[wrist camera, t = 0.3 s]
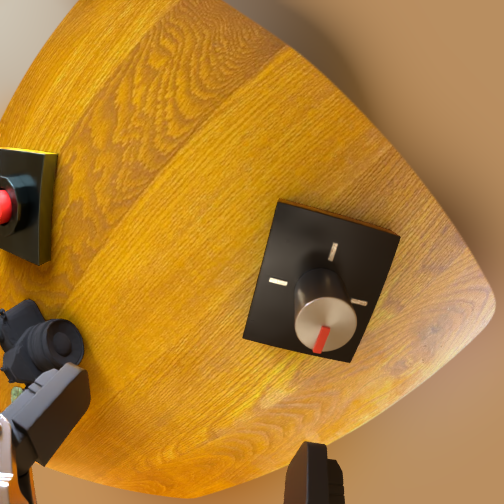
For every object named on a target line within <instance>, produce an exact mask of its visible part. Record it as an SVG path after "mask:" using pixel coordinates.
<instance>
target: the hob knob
mask: <svg viewBox="0 0 504 504" xmlns="http://www.w3.org/2000/svg"><path fill="white" fill-rule="evenodd" d="M356 326H357V317H356V314H355V311H354V308H353V306H352V303H351V301H350V298H349V296H348V293H347V291H346V288H345V286H344V283H343V281H342V279H341V278H340V277H339V275H337V274H336V273H335V272H333V271H331V270H328V269H323V268H319V269H313V270H311V271H308V272H307V273H305V274H304V275H303V276H302V277H301V278H300V279H299V280H298V282H297V284H296V287H295V332H296V335H297V337H298V339H299V340H300V342H301V343H302V344H304V345H305V346H306V347H308V348H310V349H312V350H313V352H314V353H318V354H321V352H322V351H323V352H324V351H332V350H335V349H338V348H340V347H342V346H343V345H345V344H346V343H347V342H348V341H349V340H350V339H351V338H352V336H353V334H354V332H355V330H356Z"/></svg>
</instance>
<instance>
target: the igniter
mask: <svg viewBox="0 0 504 504" xmlns="http://www.w3.org/2000/svg"><path fill="white" fill-rule="evenodd" d="M57 157H58V154H57V153H51V152H43V151H36V150H28V149H19V148H10V147H1V148H0V190H5V191H7V193H8V194H9V196H10V200H11V204H12V216H11V218H10V220H9V221H8V222H6V223H3V224H0V248H1V249H3V250H5V251H7V252H9V253H12V254H14V255H16V256H18V257H20V258H22V259H25V260H27V261H29V262H31V263H34V264H36V265H38V266H40V265H42V264H44V263H46V262H48V261H50V260H51V223H52V205H53V193H54V182H55V173H56V165H57Z"/></svg>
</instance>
